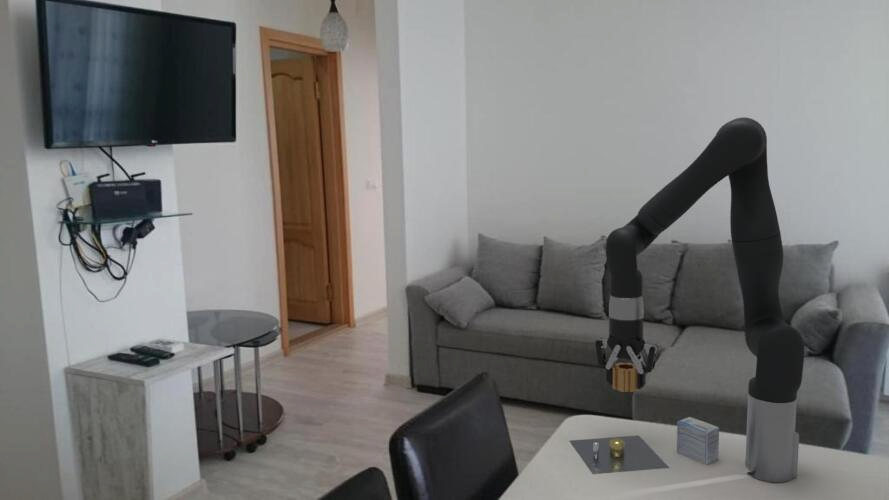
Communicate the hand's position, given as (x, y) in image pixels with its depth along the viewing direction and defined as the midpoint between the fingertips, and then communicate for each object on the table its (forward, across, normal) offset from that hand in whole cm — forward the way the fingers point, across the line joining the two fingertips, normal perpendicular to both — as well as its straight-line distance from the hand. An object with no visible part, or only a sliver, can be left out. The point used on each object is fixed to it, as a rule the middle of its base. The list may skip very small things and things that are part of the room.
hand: (625, 385), depth 160 cm
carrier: (+15, 0, -6) cm, 16 cm away
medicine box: (+16, +16, +2) cm, 22 cm away
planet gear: (0, 0, 0) cm, 0 cm away
